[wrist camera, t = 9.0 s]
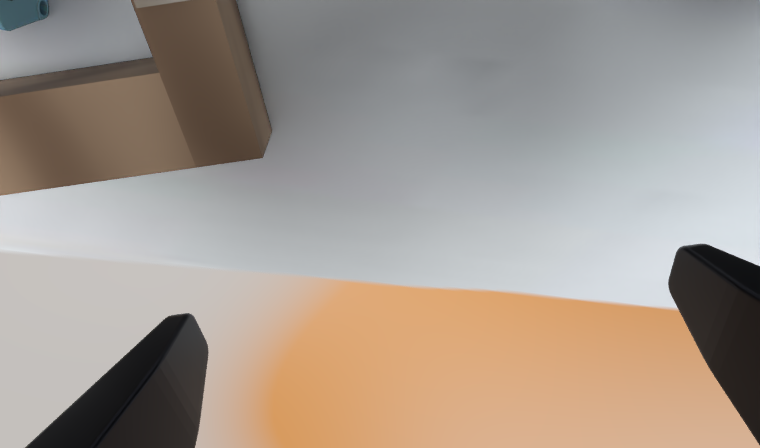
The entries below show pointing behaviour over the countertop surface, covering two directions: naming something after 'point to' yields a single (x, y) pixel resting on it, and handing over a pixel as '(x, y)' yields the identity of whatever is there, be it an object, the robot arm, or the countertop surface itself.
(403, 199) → the countertop surface
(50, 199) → the countertop surface
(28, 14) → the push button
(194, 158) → the notched board
